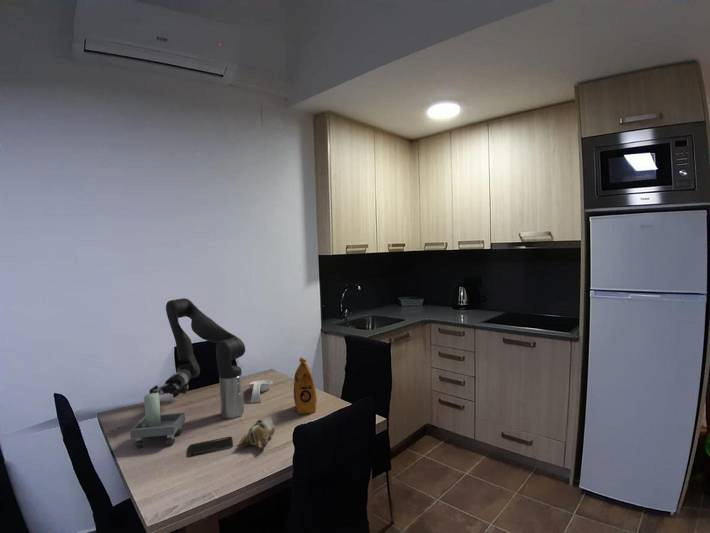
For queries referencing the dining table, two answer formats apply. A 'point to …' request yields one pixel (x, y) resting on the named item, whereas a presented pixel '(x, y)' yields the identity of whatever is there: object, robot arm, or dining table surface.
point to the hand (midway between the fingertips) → (163, 396)
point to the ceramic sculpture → (259, 433)
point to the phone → (210, 446)
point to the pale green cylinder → (152, 410)
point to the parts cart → (159, 428)
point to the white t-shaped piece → (259, 389)
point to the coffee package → (304, 389)
